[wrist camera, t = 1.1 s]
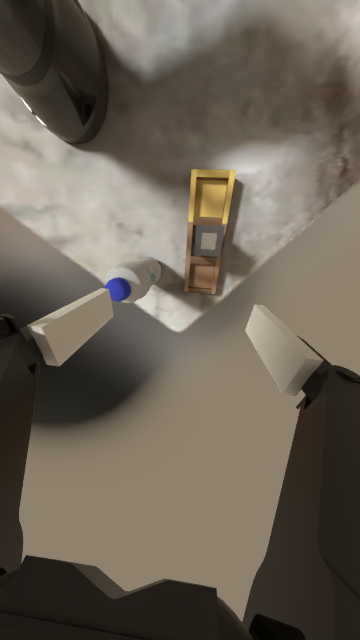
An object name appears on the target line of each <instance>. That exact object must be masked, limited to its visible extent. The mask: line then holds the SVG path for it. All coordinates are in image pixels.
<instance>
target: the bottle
mask: <svg viewBox="0 0 360 640" xmlns="http://www.w3.org/2000/svg"><path fill="white" fill-rule="evenodd" d="M160 277H161V266H160V264H159V263H158V262H157V261H156V260H155V259H153V258H142V259H140V260H138V261H135V262H134V261H128V262H122V263H120V264H119V265H117V266H116V267H114V268H113V269H111V270H110V271H109V273H108V275H107V277H106V286H105V289H109V291H110V297H111V299H112V300H114V301H121V302H124V303H131V302H134V301H136V300H138V299H140V298H142V297H144V296H145V295H146V293H147V292H148V291H149V289H150V287H151V286H152V285H153V284H154V283H156V282H157V281H158V280H159V279H160Z"/></svg>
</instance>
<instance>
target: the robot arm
mask: <svg viewBox="0 0 360 640" xmlns="http://www.w3.org/2000/svg"><path fill="white" fill-rule="evenodd" d="M0 73H1V74H2V75H3V76H4V78H5V79H6V80H7V81H8V83H9V84H10V85H11V87H12V88H13V89H14V90H15V91H16V93H17V94H18V95H19V96H20V97H21V99H22V100H23V102H24V103H25V105H26V106H27V107H28V109H29V110H30V111H31V113H32V114H33V115H34V116H35V117H36V119H37V120H38V121H39V122H40V123H41V124H42V125H43V126H45V127H46V128H47V129H48V130H50V131H51V132H52V133H53V134H55V135H56V136H57V137H59V138H60V139H62V140H64V141H66V142H69V143H73V144H82V143H85V142H88V141H89V140H91V139H92V138H93V137H94V136H95V135H96V134H97V133H98V131H99V130H100V128H101V126H102V123H103V121H104V118H105V114H106V109H107V101H108V82H107V74H106V68H105V63H104V59H103V55H102V52H101V48H100V46H99V43H98V40H97V38H96V35H95V33H94V31H93V29H92V27H91V25H90V23H89V21H88V18H87V16H86V14H85V12H84V10H83V9H82V7H81V5H80V3H79V2H78V0H0ZM112 317H113V309H112V303H111V297H110V291H109V289H103V288H101V289H99V290H97V291H95V292H93V293H91V294H89V295H87V296H85V297H83V298H81V299H79V300H77V301H75V302H73V303H71V304H69V305H67V306H65V307H63V308H61V309H59V310H57V311H55V312H53V313H51V314H49V315H47V316H45V317H43V318H41V319H39V320H37V321H35V322H33V323H31V324H29V325H27V327H25V328H23V329H21V330H20V329H19V327H18V325H17V323H16V321H15V319H14V318H13V316H12V315H6V314H4V315H0V640H360V376H359V375H358V374H356V373H354V372H353V371H350V370H349V369H346V368H344V367H341V366H336V365H331V364H330V363H329V362H328V361H327V360H326V359H325V358H323V357H322V356H321V355H320V354H319V353H318V352H317V351H315V349H313V348H312V347H311V346H310V345H309V344H308V343H307V342H306V341H304V340H303V339H301V338H300V337H298V336H296V335H295V334H294V333H293V332H292V331H291V330H290V329H289V328H288V327H286V326H285V325H284V324H283V323H282V322H281V321H280V320H279V319H278V318H277V317H276V316H274V315H273V314H272V313H271V312H270V311H269V310H268V309H267V308H266V307H265V306H263V305H254V308H253V311H252V313H251V316H250V319H249V322H248V324H247V327H246V330H245V331H246V333H247V334H248V336H249V338H250V340H251V341H252V343H253V345H254V347H255V348H256V350H257V352H258V354H259V355H260V357H261V359H262V360H263V362H264V364H265V366H266V367H267V369H268V371H269V373H270V374H271V376H272V378H273V379H274V381H275V383H276V385H277V386H278V388H279V390H280V392H281V393H282V394H284V395H292V396H296V395H297V394H298V392H299V391H300V390H301V389H302V390H303V392H304V393H305V394H306V396H305V397H304V398H303V399H302V401H301V402H300V403H299V404H298V405H297V407H296V408H297V409H299V407H301V408H300V412H299V416H298V421H297V425H296V429H295V434H294V438H293V442H292V446H291V451H290V455H289V459H288V464H287V468H286V472H285V476H284V480H283V485H282V489H281V493H280V497H279V502H278V506H277V510H276V515H275V519H274V523H273V527H272V532H271V536H270V540H269V545H268V549H267V552H266V556H265V558H264V561H263V562H262V564H261V566H260V567H259V569H258V571H257V573H256V575H255V578H254V580H253V584H252V587H251V590H250V594H249V598H248V603H247V606H246V610H245V614H244V618H243V622H241V621H240V619H239V618H238V617H237V615H236V614H235V613H234V612H233V611H232V610H231V609H230V608H229V606H227V605H226V603H225V602H224V601H223V600H221V599H220V598H219V597H218V596H217V591H216V588H212V587H207V586H203V585H199V584H193V583H187V582H181V581H176V580H170V579H162V580H159V581H157V582H154V583H151V584H148V585H146V586H143V587H140V588H138V589H135V590H132V591H124V590H123V589H122V588H121V587H119V586H118V585H117V584H116V583H115V582H114V581H112V580H111V579H110V578H109V577H108V576H107V575H106V574H104V573H103V572H102V571H101V570H100V569H99V568H97V567H95V566H90V565H84V564H78V563H72V562H66V561H61V560H54V559H48V558H40V557H34V556H28V555H26V556H25V558H24V560H23V562H22V564H21V561H22V552H23V532H22V528H21V525H20V521H19V507H20V500H21V493H22V486H23V479H24V473H25V466H26V459H27V452H28V445H29V438H30V431H31V424H32V418H33V410H34V404H35V397H36V391H37V383H38V377H39V370H40V365H39V363H38V361H39V360H40V359H42V358H44V360H45V361H46V363H47V365H54V366H60V365H61V364H62V363H63V362H65V360H67V359H68V358H69V357H70V356H71V355H72V354H73V353H74V352H75V351H76V350H77V349H78V348H80V347H81V346H82V345H83V344H84V343H85V342H86V341H87V340H88V339H89V338H90V337H91V336H93V335H94V333H96V332H97V331H98V330H99V329H100V328H101V327H102V326H103V325H104V324H105V323H106V322H107V321H109V320H110V319H111V318H112Z"/></svg>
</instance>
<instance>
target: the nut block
mask: <svg viewBox="0 0 360 640" xmlns="http://www.w3.org/2000/svg"><path fill="white" fill-rule="evenodd" d="M224 229H225V226H213V225H197V226H196V236H195V247H194V255H196V256H213V257H220V253H221V247H222V241H223V235H224Z"/></svg>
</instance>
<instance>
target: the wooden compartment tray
mask: <svg viewBox="0 0 360 640" xmlns="http://www.w3.org/2000/svg"><path fill="white" fill-rule="evenodd" d="M235 174H236V170H203V169H191V185H190V202H189V218H188V235H187V251H186V267H185V284H184V292H195V293H209V294H215V292H216V286H217V280H218V274H219V268H220V262H221V256H222V250H223V244H224V238H225V232H226V226H227V221H228V215H229V209H230V203H231V197H232V191H233V185H234V179H235ZM197 225H213V226H225V229H224V235H223V241H222V247H221V253H220V257H213V256H196V255H194V247H195V236H196V226H197Z"/></svg>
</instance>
